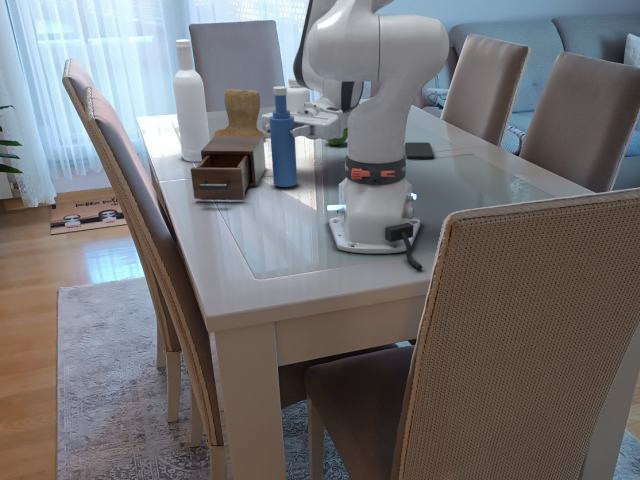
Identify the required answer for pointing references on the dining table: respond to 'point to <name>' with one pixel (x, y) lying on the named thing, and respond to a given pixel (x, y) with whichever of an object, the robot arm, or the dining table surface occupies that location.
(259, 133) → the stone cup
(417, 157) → the phone
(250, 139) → the cabinet
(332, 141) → the avocado
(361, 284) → the dining table surface
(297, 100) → the pill bottle
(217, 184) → the drawer
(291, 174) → the bottle
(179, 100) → the bottle
